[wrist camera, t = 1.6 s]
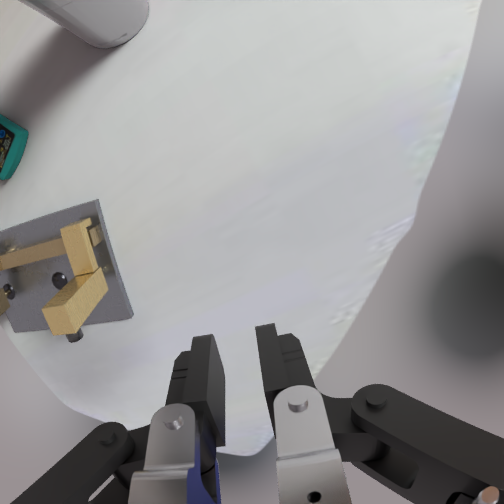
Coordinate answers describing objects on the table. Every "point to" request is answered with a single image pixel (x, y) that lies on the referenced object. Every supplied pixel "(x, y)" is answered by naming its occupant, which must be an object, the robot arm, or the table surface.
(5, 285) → the flange plate
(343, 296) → the table surface
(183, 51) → the table surface
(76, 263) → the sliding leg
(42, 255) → the tan block assembly
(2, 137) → the digital multimeter
